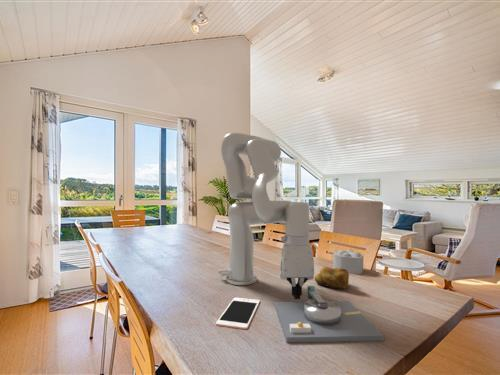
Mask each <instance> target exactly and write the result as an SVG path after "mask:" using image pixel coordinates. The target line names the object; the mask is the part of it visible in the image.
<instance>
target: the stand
mask: <svg viewBox="0 0 500 375" xmlns="http://www.w3.org/2000/svg"><path fill="white" fill-rule="evenodd" d="M330 301H331V300H330ZM305 302H306V301H274V309H275V311H276V313H277V318H278V321H279V323H280V327H281V329H282V332H283V336H284V339H285V342H286V343H322V342H323V343H325V342H326V343H329V342H330V343H331V342H374V341H377V342H378V341H381V342H382V341H384V340H385V335H384V334H383V333H382V332H381V331H380V330H379V329H378V328H377V327H376V326H375V325H374V324H373V323H372V322H370V320H369V319H367V317H366V316H365V315H364V314H363V313H361V311H359V309H357V308H356V306H354V305H353V304H352V303H351V302H350V300H345V301H343V300H338V301H337V300H334V301H333V300H332V301H331V302H334V303H336V304H338V305H339V306H340V307H341V321H340V322H339V323H337V324H334V325H321V324H317V323H314V322H311V321H309V320H308V319H307V318H306V317H305V316H304V304H305Z"/></svg>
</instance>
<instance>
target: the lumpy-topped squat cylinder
mask: <svg viewBox="0 0 500 375" xmlns="http://www.w3.org/2000/svg"><path fill="white" fill-rule="evenodd" d="M332 254H333V259H332V261H333V262H332V267H333V268H340V269H341V268H343V269H346V270H347V271H348V273H349V274H354V275H361V274H363V272H364V254H362V253H361V252H359V251H355V250H352V249H347V250H345V249H339V250H338V251H335V252H333V253H332ZM333 268H332V269H333Z"/></svg>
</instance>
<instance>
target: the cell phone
mask: <svg viewBox="0 0 500 375" xmlns="http://www.w3.org/2000/svg"><path fill="white" fill-rule="evenodd" d="M260 303H261V300H260V299H254V298H253V299H252V298H245V297H233V298H232V300H231V301H230V302H229V304H228V305H227V307H226V308H225V310H224V311H223V312H222V313H221V315H220V316H219V318H218V319H217V321H216V322H215V326H218V327H223V328H232V329H239V330H248V329H249V326H250V324H251V322H252V320H253V318H254V316H255V313H257V312H256V311H257V310H258V307H259V305H260Z"/></svg>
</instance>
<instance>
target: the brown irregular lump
mask: <svg viewBox="0 0 500 375" xmlns="http://www.w3.org/2000/svg"><path fill="white" fill-rule="evenodd" d="M349 274H350V273H348V271H347V270H346V269H343V268H341V269H340V268H331V267H330V266H323V267H322V268H321V269H320V270H319V272H318V273H317V274H316V275H314V280H315V283H317V284H319V285H321V286H327V287H330V288H331V289H332V288H333V289H340V290H341V289H342V290H343V289H345V288H347V287H348V285H349V276H350V275H349Z"/></svg>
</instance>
